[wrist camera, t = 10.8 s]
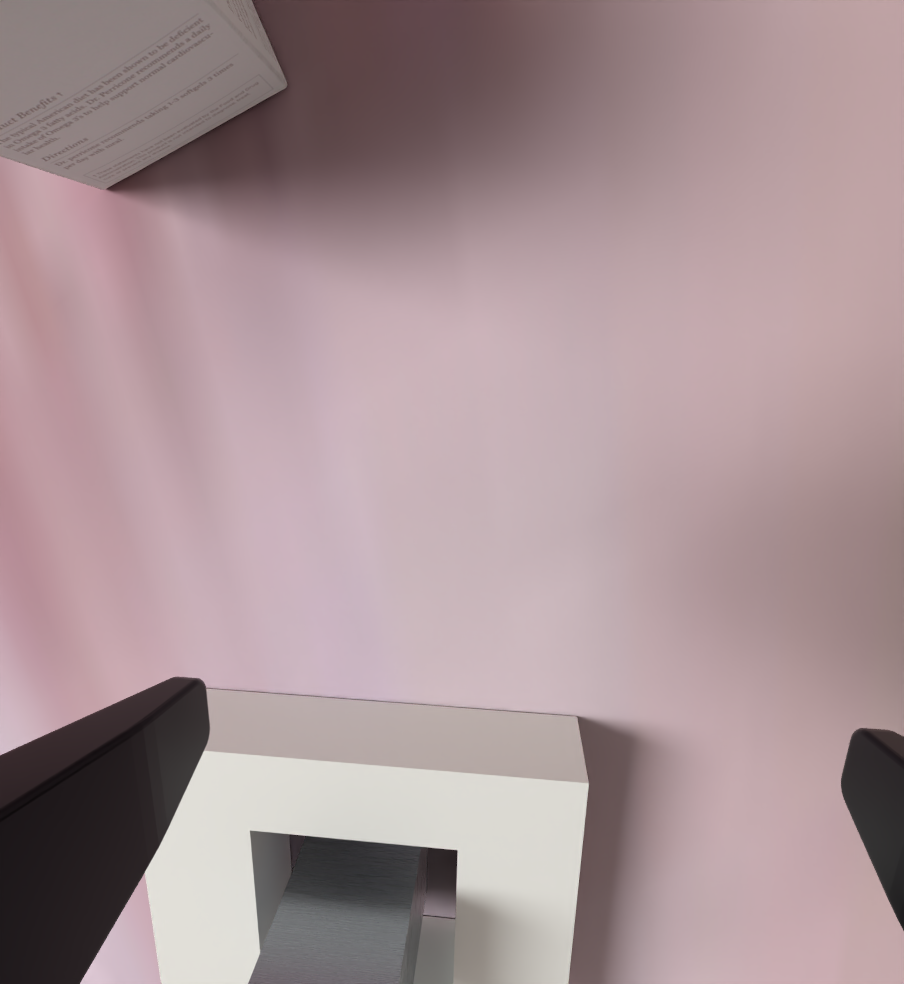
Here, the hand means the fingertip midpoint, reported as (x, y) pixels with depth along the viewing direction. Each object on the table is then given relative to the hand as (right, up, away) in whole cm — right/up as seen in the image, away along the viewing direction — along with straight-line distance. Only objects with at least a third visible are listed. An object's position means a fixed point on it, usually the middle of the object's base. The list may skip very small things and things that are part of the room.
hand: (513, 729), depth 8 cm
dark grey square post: (-4, -12, +17) cm, 21 cm away
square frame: (-4, -12, +17) cm, 21 cm away
